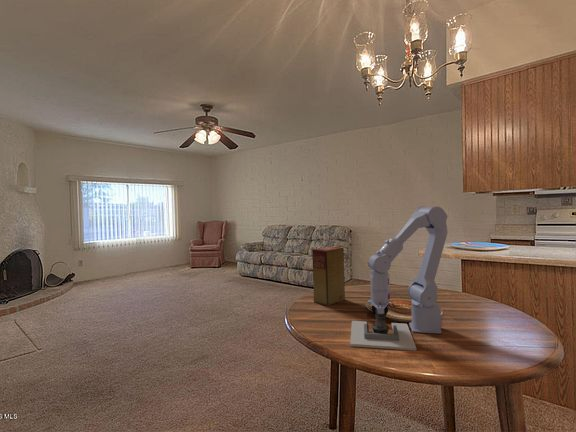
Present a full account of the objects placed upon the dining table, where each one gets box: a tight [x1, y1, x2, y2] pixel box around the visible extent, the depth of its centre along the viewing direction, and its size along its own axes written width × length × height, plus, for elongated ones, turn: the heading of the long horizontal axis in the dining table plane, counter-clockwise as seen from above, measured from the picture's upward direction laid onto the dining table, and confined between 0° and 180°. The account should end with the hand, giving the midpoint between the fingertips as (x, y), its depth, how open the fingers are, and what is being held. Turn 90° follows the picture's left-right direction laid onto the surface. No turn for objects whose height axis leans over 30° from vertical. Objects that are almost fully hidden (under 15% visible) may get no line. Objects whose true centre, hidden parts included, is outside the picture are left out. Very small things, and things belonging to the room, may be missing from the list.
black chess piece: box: [371, 303, 390, 334], centre depth 107 cm, size 6×6×12 cm
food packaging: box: [311, 246, 346, 307], centre depth 148 cm, size 13×9×25 cm
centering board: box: [349, 320, 417, 352], centre depth 108 cm, size 20×20×2 cm
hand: (380, 326), depth 111 cm, fingers closed
